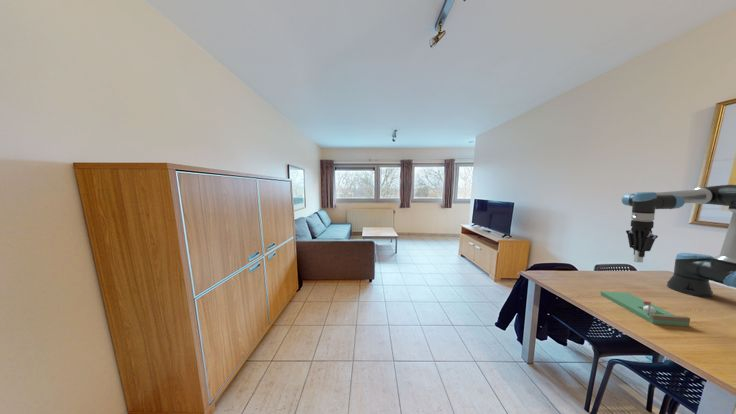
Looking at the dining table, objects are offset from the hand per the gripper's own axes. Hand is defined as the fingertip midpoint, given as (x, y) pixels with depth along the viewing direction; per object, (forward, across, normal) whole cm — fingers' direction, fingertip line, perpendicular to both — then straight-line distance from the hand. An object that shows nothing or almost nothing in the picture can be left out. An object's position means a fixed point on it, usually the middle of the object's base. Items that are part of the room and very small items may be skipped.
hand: (638, 261), depth 115 cm
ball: (+20, +14, -7) cm, 26 cm away
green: (+22, +10, -7) cm, 25 cm away
